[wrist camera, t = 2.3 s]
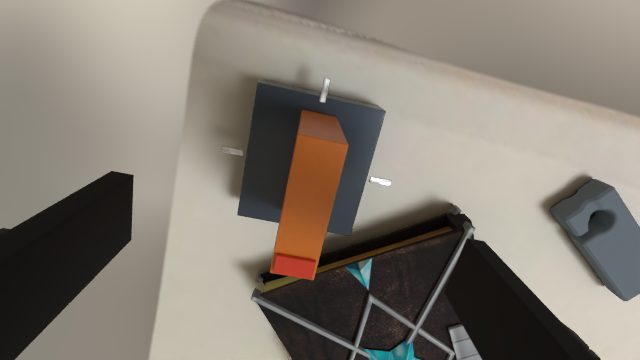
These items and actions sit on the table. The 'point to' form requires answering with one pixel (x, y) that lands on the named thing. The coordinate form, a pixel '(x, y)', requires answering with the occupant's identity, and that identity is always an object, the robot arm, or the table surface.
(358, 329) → the book
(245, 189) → the plate
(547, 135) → the table surface
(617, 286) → the bracket
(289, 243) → the orange handle lever
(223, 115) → the table surface
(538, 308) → the robot arm
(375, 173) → the table surface
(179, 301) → the table surface
